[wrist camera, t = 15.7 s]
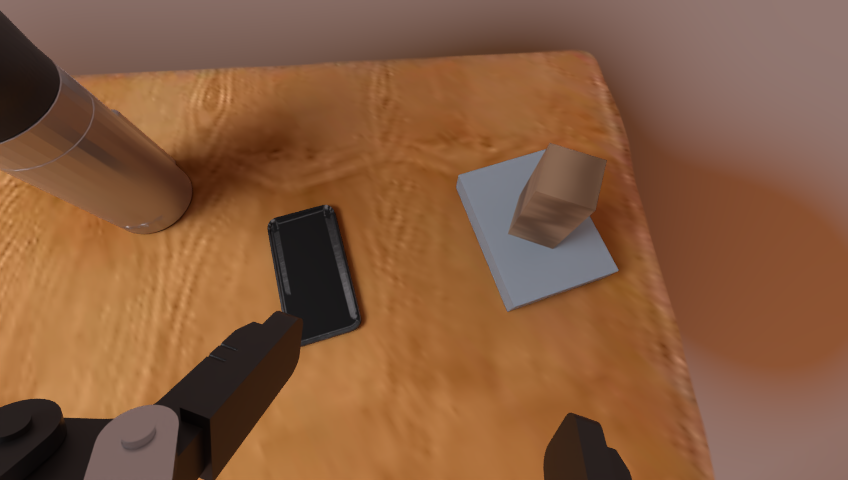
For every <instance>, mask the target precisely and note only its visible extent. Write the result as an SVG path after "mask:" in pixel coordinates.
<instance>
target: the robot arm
mask: <svg viewBox="0 0 848 480" xmlns="http://www.w3.org/2000/svg"><path fill="white" fill-rule="evenodd" d="M0 170H2V171H4V172H6V173H8V174H10V175H12V176H14V177H16V178H18V179H21V180H23V181H25V182H27V183H29V184H31V185H33V186H35V187H37V188H39V189H41V190H43V191H46V192H48V193H50V194H52V195H54V196H56V197H58V198H60V199H62V200H64V201H66V202H68V203H71V204H73V205H75V206H77V207H79V208H81V209H83V210H85V211H87V212H89V213H91V214H93V215H96V216H98V217H100V218H102V219H104V220H106V221H108V222H110V223H112V224H114V225H116V226H119V227H121V228H123V229H125V230H127V231H129V232H132V233H137V234H148V233H154V232H157V231H160V230H163V229H165V228H167V227H168V226H170V225H172V224H173V223H174V222H176V221H177V220H178V219H179V218H180V217H181V216H182V215H183V214H184V212H185V211H186V209H187V208H188V206H189V204H190V201H191V198H192V185H191V182H190V180H189V177H188V176H187V175H186V174H185V173H184V172H183V171H182V170H181V169H180V168H179V167H177V166H176V161H175V160H174V159H173V158H172V157H171V156H170V155H168V154H167V153H166V152H165V151H164V150H163V149H161V148H160V147H159V146H158V145H157V144H156V143H154V142H153V141H152V140H151V139H150V138H149V137H148V136H146V135H145V134H144V133H143V132H142V131H141V130H139V129H138V128H137V127H136V126H135V125H134V124H132V123H131V122H130V121H129V120H128V119H127V118H126V117H124V116H123V115H122V114H121V113H120V112H118V111H116V110H112V109H111V110H110V109H109V108H108V107H107V106H105V105H104V104H103V103H102V102H101V101H100V100H98V99H97V98H96V97H95V96H94V95H92V94H91V93H90V92H89V91H88V90H87V89H85V88H84V87H83V86H82V85H80V84H79V83H78V82H77V81H76V80H74V79H73V78H72V77H71V76H70V75H69V74H67V73H66V72H65V71H64V70H63V69H61V68H60V67H59V66H58V65H57V64H55V63H54V62H53V61H52V60H51V59H50V58H49V57H47V56H46V55H45V54H44V53H43V52H42V51H40V50H39V49H38V48H37V47H36V46H35V45H33V43H32V42H31V41H30V40H29V39H27V38H26V36H25V35H24V34H23V33H22V32H21V31H20V30H19V29H18V28H17V27H16V26H15V25H14V24H13V23H12V22H11V21H10V20H9V19H8V18H7V17H6V16H5V15H4V14H3V13H2V12H1V11H0ZM302 328H303V320H302V319H301V318H299V317H296V316H293V315H290V314H287V313H284V312H281V311H276V312H275V313H273V314H272V315H271V316H270V317H269V318H268V319H267V320H266V321H265V322H264V323H263V324H259V323H256V322H252V323H250V324H248V325H246V326H243V327H241V328H239V329H237V330H235V331H234V332H233V333H232V334H231V335H230V336H229V337H228V338H227V339H225V340H224V341H223V342H222V343H221V345H220V346H218V347H217V348H216V349H215V350H213V351H212V352H211V353H210V355H209V357H206V358H205V359H204V360H203V361H202V362H200V363H199V364H198V365H197V366H196V367H195V368H194V369H193V370H192V371H191V372H190V373H188V374H187V375H186V376H185V377H184V378H183V379H182V380H181V381H180V382H179V383H178V384H177V385H175V386H174V387H173V388H172V389H171V390H170V391H169V392H168V393H167V394H166V395H165V396H164V397H162V398H161V399H160V400H159V401H158V402H156V403H155V404H153V405H146V406H141V407H137V408H134V409H131V410H129V411H127V412H124V413H123V414H121V415H119V416H117V417H116V418H115V419H87V418H63V414H62V411H61V408H60V407H59V405H58V404H56V403H55V402H53V401H51V400H46V399H28V400H22V401H18V402H14V403H11V404H8V405H5V406H3V407H0V480H197V479H198V478H202V479H204V480H215V479H216V478H217V476H218V475H219V474H220V472H221V471H222V470H223V468H224V467H225V465H226V464H227V463H228V461H229V460H230V459H231V457H232V456H233V455H234V453H235V452H236V450H237V449H238V448H239V446H240V445H241V444H242V442H243V441H244V440H245V438H246V437H247V435H248V434H249V433H250V431H251V430H252V429H253V427H254V426H255V425H256V423H257V422H258V420H259V419H260V418H261V416H262V415H263V414H264V412H265V411H266V409H267V408H268V407H269V405H270V404H271V403H272V401H273V400H274V399H275V397H276V396H277V394H278V393H279V392H280V390H281V389H282V388H283V386H284V385H285V384H286V382H287V381H288V379H289V378H290V377H291V375H292V373H293V372H294V370H295V368H296V365H297V363H298V360H299V355H300V346H301V337H302ZM544 480H632V478H631V475H630V472H629V470H628V468H627V467H626V465H625V464H624V462H623V460H622V459H621V457H620V456H619V454H618V452H617V451H616V450H615V449H613V448H610V447H607V445H606V441H605V437H604V434H603V430H602V427H601V425H600V423H599V422H597V421H594V420H591V419H588V418H585V417H582V416H579V415H576V414H574V413H568V414H567V415H566V417H565V418H564V420H563V422H562V423H561V425H560V426H559V428H558V430H557V431H556V433H555V435H554V436H553V438H552V439H551V441H550V443H549V444H548V446H547V449H546V452H545V456H544Z"/></svg>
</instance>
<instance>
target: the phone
mask: <svg viewBox="0 0 848 480" xmlns="http://www.w3.org/2000/svg"><path fill="white" fill-rule="evenodd" d="M268 235H269V240H270V246H271V252H272V257H273V263H274V269H275V274H276V280H277V286H278V292H279V297H280V303H281V309H282V312H284V313H287V314H290V315H293V316H296V317H299V318H301V319H302V320H303V328H302V337H301V346H300V347H302V346H305V345H308V344H312V343H315V342H318V341H321V340H325V339H328V338H331V337H334V336H338V335H341V334H344V333H347V332H351V331H354V330H356V329H357V328H358V327H359V325H360V323H361V315H360V311H359V307H358V303H357V299H356V295H355V291H354V287H353V283H352V279H351V275H350V271H349V267H348V263H347V259H346V254H345V250H344V246H343V242H342V238H341V234H340V230H339V226H338V222H337V218H336V214H335V212H334V210H333V208H332V207H330V206H329V205H321V206H318V207H314V208H310V209H306V210H303V211H299V212H295V213H291V214H288V215H284V216H280V217H276V218H274V219H272V220H271V221H270V222H269V224H268Z"/></svg>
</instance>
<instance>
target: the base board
mask: <svg viewBox="0 0 848 480" xmlns="http://www.w3.org/2000/svg"><path fill="white" fill-rule="evenodd" d="M545 150H546V149H545ZM545 150H542V151H538V152H535V153H532V154H528V155H525V156H521V157H518V158H515V159H511V160H508V161H505V162H501V163H498V164H494V165H491V166H488V167H484V168H481V169H477V170H474V171H471V172H467V173H464V174H461V175H459V176H458V181H457V186H456V188H457V191H458V193H459V196H460V198H461V200H462V203H463V205H464V208H465V210H466V212H467V215H468V217H469V220H470V222H471V225H472V227H473V229H474V232H475V234H476V237H477V239H478V242H479V244H480V246H481V249H482V251H483V254H484V256H485V259H486V261H487V263H488V266H489V268H490V271H491V273H492V275H493V278H494V280H495V283H496V285H497V288H498V290H499V292H500V295H501V297H502V300H503V302H504V305H505V307H506V309H507V312H508V311H511V310H514V309H517V308H520V307H523V306H525V305H528V304H531V303H534V302H537V301H540V300H542V299H545V298H548V297H551V296H554V295H557V294H560V293H562V292H565V291H568V290H571V289H574V288H577V287H580V286H582V285H585V284H588V283H591V282H594V281H597V280H600V279H602V278H605V277H607V276H609V275H611V274H613V273H615V272H617V271H619V270H618V268H617V266H616V264H615V263H614V261H613V259H612V257H611V255H610V253H609V251H608V249H607V248H606V246H605V244H604V242H603V240H602V238H601V236H600V234H599V233H598V231H597V229H596V227H595V225H594V223H593V221H592V219H591V218H590V216H589V217H588V218H587V219H585V220H584V221H583V222H582V223H581V224H580V225H579V226H578V227H577V228H575V229H574V230H573V231H572V232H571V233H570V234H569V235H568V236H567V237H566V238H564V239H563V240H562V241H561V242H560V243H559V244H558V245H557V246H556V247H554V248H553V249H551V248H548V247H545V246H542V245H539V244H536V243H533V242H530V241H527V240H525V239H522V238H519V237H516V236H513V235H510V234H508V232H509V228H510V225H511V222H512V219H513V215H514V212H515V209H516V206H517V202H518V199H519V196H520V194H521V192H522V190H523V188H524V187H525V185H526V183H527V182H528V180H529V178H530V176H531V175H532V173H533V171H534V169H535V168H536V166H537V164H538V163H539V161H540V159H541V157H542V156H543V154H544V152H545Z"/></svg>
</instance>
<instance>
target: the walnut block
mask: <svg viewBox="0 0 848 480" xmlns="http://www.w3.org/2000/svg"><path fill="white" fill-rule="evenodd" d="M606 161H607V160H604V159H601V158H597V157H594V156H591V155H588V154H584V153H581V152H578V151H575V150H571V149H568V148H565V147H562V146H558V145H555V144H552V143H549V145H548V147H547V149H546V150H545V152H544V154H543V156H542V157H541V159H540V161H539V163H538V164H537V166H536V168H535V169H534V171H533V173H532V175H531V176H530V178H529V180H528V182H527V183H526V185H525V187H524V188H523V190H522V192H521V194H520V196H519V199H518V202H517V206H516V209H515V212H514V215H513V219H512V222H511V225H510V228H509V232H508V234H510V235H513V236H516V237H519V238H522V239H525V240H527V241H530V242H533V243H536V244H539V245H542V246H545V247H548V248H551V249H553V248H554V247H556V246H557V245H558V244H559V243H560V242H561V241H562V240H563V239H564V238H566V237H567V236H568V235H569V234H570V233H571V232H572V231H573V230H574V229H575V228H577V227H578V226H579V225H580V224H581V223H582V222H583V221H584V220H585V219H587V218H588V217H589V216H590V215H591V214H592V213H593V212H594V211H595V210H596V206H597V202H598V197H599V193H600V188H601V184H602V179H603V175H604V170H605V166H606Z"/></svg>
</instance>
